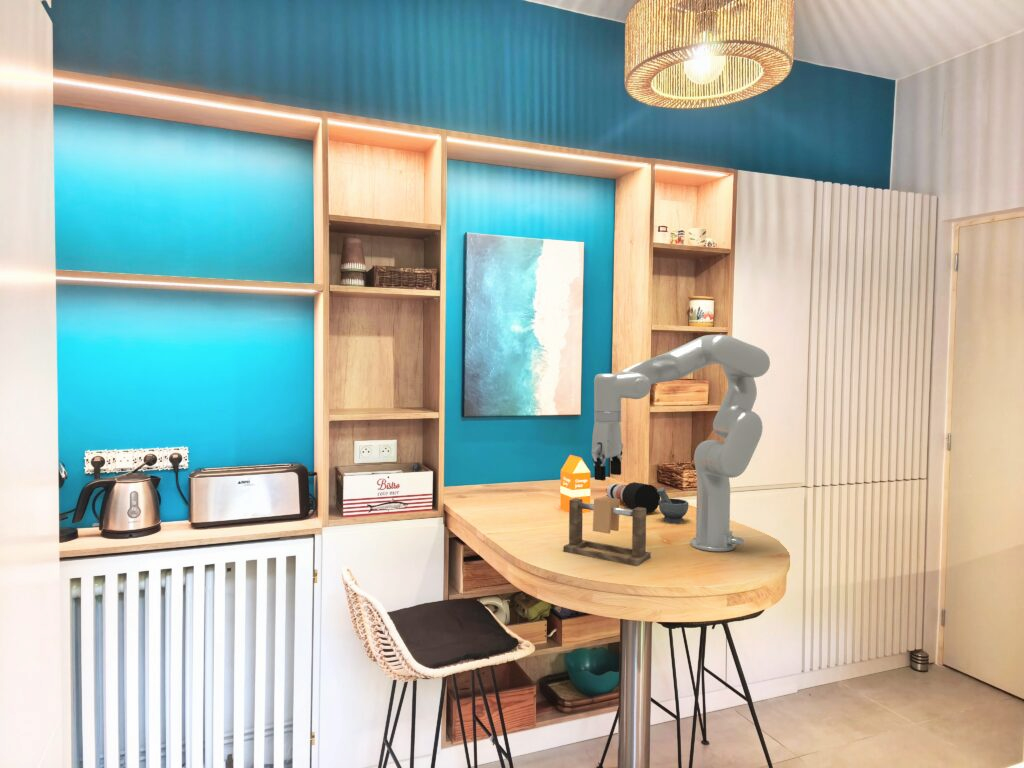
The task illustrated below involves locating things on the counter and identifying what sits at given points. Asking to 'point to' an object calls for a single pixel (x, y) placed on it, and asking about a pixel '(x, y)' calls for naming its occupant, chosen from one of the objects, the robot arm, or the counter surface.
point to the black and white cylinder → (635, 495)
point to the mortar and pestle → (672, 507)
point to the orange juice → (575, 482)
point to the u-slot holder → (605, 515)
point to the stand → (577, 544)
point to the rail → (613, 510)
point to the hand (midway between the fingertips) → (608, 477)
